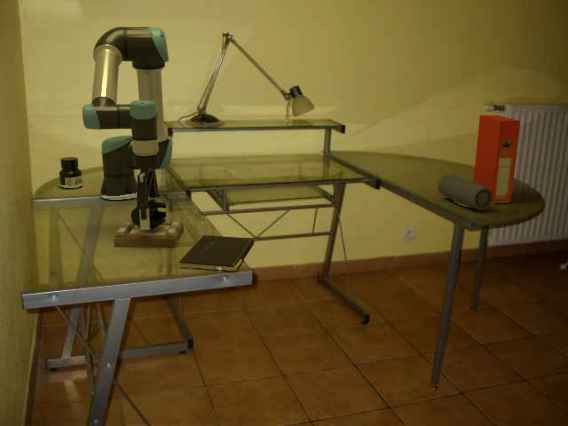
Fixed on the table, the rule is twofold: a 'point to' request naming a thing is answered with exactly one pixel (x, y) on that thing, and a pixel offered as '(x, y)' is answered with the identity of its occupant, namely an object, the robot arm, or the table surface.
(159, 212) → the black notched block
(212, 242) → the hardcover book
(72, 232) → the table surface
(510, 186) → the file binder
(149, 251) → the table surface
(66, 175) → the ink bottle
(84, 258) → the table surface
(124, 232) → the display riser
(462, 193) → the bluetooth speaker
